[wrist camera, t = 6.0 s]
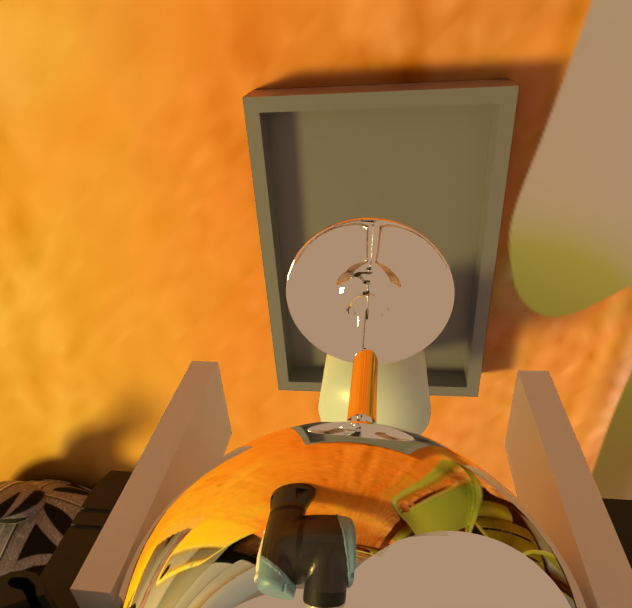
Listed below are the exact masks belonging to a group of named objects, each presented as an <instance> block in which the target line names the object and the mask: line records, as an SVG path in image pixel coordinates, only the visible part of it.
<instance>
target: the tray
mask: <svg viewBox="0 0 632 608" xmlns="http://www.w3.org/2000/svg"><path fill="white" fill-rule="evenodd" d="M518 91H519V85H517V84H516V83H515V82H513V81H512V80H511V79H509V78H508V79H486V80H463V81H441V82H419V83H396V84H374V85H351V86H329V87H307V88H284V89H262V90H252V91H251V92H250V93H248V94H247V95H245V96H244V97H243V104H244V113H245V121H246V129H247V137H248V145H249V153H250V161H251V169H252V177H253V185H254V194H255V202H256V210H257V218H258V226H259V234H260V242H261V250H262V258H263V266H264V275H265V283H266V291H267V299H268V307H269V315H270V323H271V331H272V339H273V347H274V356H275V364H276V372H277V380H278V388H279V390H294V391H321V387H322V381H323V374H324V368H325V362H326V356H327V353H325V352H323V351H321V350H320V349H318V348H317V347H316V346H314V345H313V344H312V343H311V342H310V341H309V340H308V339H307V338H306V337H305V336H304V335H303V334H302V333H301V332H300V330H299V329H298V327H297V326H296V324H295V323H294V321H293V319H292V316H291V314H290V311H289V308H288V304H287V298H286V283H287V277H288V273H289V270H290V267H291V264H292V262H293V260H294V258H295V256H296V255H297V253H298V252H299V250H300V249H301V248H302V247H303V245H304V244H305V243H306V242H307V241H308V240H309V239H310V238H312V237H313V236H314V235H315V234H317V233H318V232H320V231H321V230H323V229H325V228H327V227H329V226H331V225H333V224H335V223H338V222H341V221H345V220H349V219H354V218H363V217H376V218H384V219H390V220H394V221H397V222H400V223H403V224H406V225H408V226H410V227H412V228H414V229H416V230H417V231H419V232H421V233H422V234H424V235H425V236H426V237H427V238H429V239H430V240H431V241H432V242H433V243H434V244H435V245H436V246H437V247H438V249H439V250H440V251H441V252H442V254H443V255H444V257H445V259H446V261H447V262H448V265H449V267H450V269H451V272H452V276H453V280H454V288H455V297H454V305H453V309H452V313H451V315H450V318H449V320H448V322H447V324H446V326H445V328H444V329H443V331H442V332H441V333H440V334H439V336H438V337H437V338H436V339H435V340H434V341H433V342H432V343H431V344H430V345H428V346H427V347H426V348H424V351H425V361H426V370H427V379H428V388H429V395H437V396H466V397H478V392H479V384H480V377H481V369H482V362H483V354H484V347H485V339H486V331H487V324H488V316H489V309H490V301H491V294H492V286H493V279H494V271H495V264H496V256H497V249H498V241H499V234H500V226H501V219H502V211H503V203H504V196H505V188H506V181H507V173H508V166H509V158H510V151H511V143H512V136H513V128H514V121H515V113H516V106H517V98H518Z"/></svg>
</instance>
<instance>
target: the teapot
mask: <svg viewBox="0 0 632 608" xmlns="http://www.w3.org/2000/svg"><path fill="white" fill-rule="evenodd" d="M90 491H91V489H89V488H87V487H84V486H81V485H78V484H74V483H71V482H66V481H60V480H52V479H39V480H32V481H4V482H0V576H2V575H5V574H7V573H9V572H13V571H21V570H27V571H30V572H33V573H37V575H38V576H40V574H41V573H42V571H43V569H44V568H45V566H46V564H47V563H48V561H49V559H50V558H51V556H52V554H53V553H54V551H55V549H56V548H57V546H58V544H59V543H60V541H61V539H62V538H63V536H64V534H65V533H66V531H67V529H68V528H70V527H71V523H72V521H73V519H74V518H75V516H76V514H77V513H78V512H80V510H81V506H82V504H83V503H84V501H85V499H86V498H87V496H88V494H89V493H90Z"/></svg>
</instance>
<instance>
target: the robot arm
mask: <svg viewBox="0 0 632 608" xmlns="http://www.w3.org/2000/svg"><path fill="white" fill-rule="evenodd" d="M231 434H232V432H231V427H230V422H229V416H228V411H227V406H226V401H225V396H224V391H223V385H222V380H221V375H220V370H219V365H218V362H201V361H192V362H191V364H190V366H189V368H188V370H187V372H186V374H185V375H184V377H183V379H182V381H181V383H180V385H179V387H178V389H177V390H176V392H175V394H174V396H173V398H172V400H171V402H170V403H169V405H168V407H167V409H166V411H165V413H164V415H163V416H162V418H161V420H160V422H159V424H158V426H157V428H156V430H155V431H154V433H153V435H152V437H151V439H150V441H149V443H148V444H147V446H146V448H145V450H144V452H143V454H142V456H141V458H140V459H139V461H138V463H137V465H136V467H135V469H134V471H133V472H124V471H110V472H109V473H108V474H107V475H106V476H105V477H104V478H103V479H102V480H100V481H99V482H98V483H97V484H96V485H95V486H94V487H93V488H92V489H91V491H90V493H89V494H88V496H87V498H86V499H85V501H84V503H83V504H82V506H81V510H80V512H78V513H77V514H76V516H75V518H74V519H73V521H72V523H71V527H70V528H68V529H67V531H66V533H65V534H64V536H63V538H62V539H61V541H60V543H59V544H58V546H57V548H56V549H55V551H54V553H53V554H52V556H51V558H50V559H49V561H48V563H47V564H46V566H45V568H44V569H43V571H42V573H41V574H40V576H38V575H37V573H33V572H30V571H27V570H21V571H13V572H9V573H7V574H5V575H2V576H0V608H114V605H115V602H116V599H117V596H118V593H119V590H120V587H121V584H122V582H123V579H124V577H125V574H126V572H127V569H128V567H129V565H130V563H131V561H132V558H133V556H134V554H135V552H136V550H137V548H138V547H139V545H140V543H141V541H142V539H143V538H144V536H145V534H146V533H147V531H148V530H149V528H150V527H151V525H152V524H153V522H154V521H155V519H156V518H157V517H158V516H159V514H160V513H161V512H162V511H163V509H164V508H165V507H166V506H167V504H168V503H169V502H170V501H171V500H172V499H173V498H174V497H175V496H176V495H177V494H178V493H179V492H180V491H181V490H182V489H183V488H184V487H185V486H186V485H187V484H188V483H189V482H190V481H191V480H193V479H194V478H195V477H196V476H197V475H199V474H200V473H201V472H202V471H203V470H205V469H206V468H208V467H209V466H210V465H212V464H213V463H215V462H216V461H217V460H219V459H220V458H222V457H223V456H224V453H225V450H226V447H227V445H228V442H229V439H230V436H231ZM505 450H506V454H507V458H508V462H509V466H510V469H511V473H512V477H513V481H514V485H515V489H516V493H517V497H518V500H519V501H520V502H521V503H522V504H523V505H524V506H525V507H526V508H527V509H528V510H529V511H530V512H531V513H532V514H533V516H534V517H535V518H536V519H537V520H538V521H539V523H540V524H541V525H542V526H543V528H544V529H545V530H546V531H547V533H548V534H549V535H550V537H551V538H552V540H553V541H554V543H555V544H556V545H557V547H558V548H559V550H560V551H561V553H562V555H563V556H564V558H565V560H566V561H567V563H568V565H569V566H570V568H571V570H572V572H573V574H574V576H575V578H576V580H577V582H578V584H579V586H580V588H581V590H582V593H583V595H584V598H585V600H586V603H587V605H588V608H632V500H618V499H603V498H601V495H600V493H599V491H598V488H597V486H596V483H595V481H594V479H593V476H592V474H591V471H590V469H589V467H588V464H587V462H586V459H585V457H584V455H583V452H582V450H581V447H580V445H579V443H578V440H577V438H576V436H575V433H574V431H573V428H572V426H571V424H570V421H569V419H568V417H567V414H566V412H565V409H564V407H563V405H562V402H561V400H560V397H559V395H558V393H557V390H556V388H555V386H554V383H553V381H552V378H551V376H550V374H549V371H520V370H518V373H517V378H516V384H515V390H514V395H513V401H512V406H511V412H510V418H509V423H508V429H507V435H506V440H505Z"/></svg>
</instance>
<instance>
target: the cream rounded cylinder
mask: <svg viewBox="0 0 632 608" xmlns="http://www.w3.org/2000/svg"><path fill="white" fill-rule="evenodd" d="M352 369H353V363H351V362H347V361H343V360H340V359H338V358H335V357H333V356H331V355H329V354H327V356H326V362H325V368H324V374H323V381H322V387H321V393H320V399H319V415H320V418H321V421H322V422H324V421H341V420H346V421H347V415H348V406H349V397H350V388H351V379H352ZM430 415H431V406H430V397H429V388H428V379H427V370H426V361H425V351H424V349H423V350H421V351H420V352H418V353H416V354H415V355H413V356H410V357H408V358H406V359H403V360H400V361H396V362H392V363H387V364H378V375H377V423H379V424H384V425H389V426H393V427H397V428H401V429H404V430H407V431H411V432H414V433H416V434H419V435H421V434H422V433H423V432H424V430H425V429H426V427H427V425H428V423H429V420H430Z"/></svg>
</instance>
